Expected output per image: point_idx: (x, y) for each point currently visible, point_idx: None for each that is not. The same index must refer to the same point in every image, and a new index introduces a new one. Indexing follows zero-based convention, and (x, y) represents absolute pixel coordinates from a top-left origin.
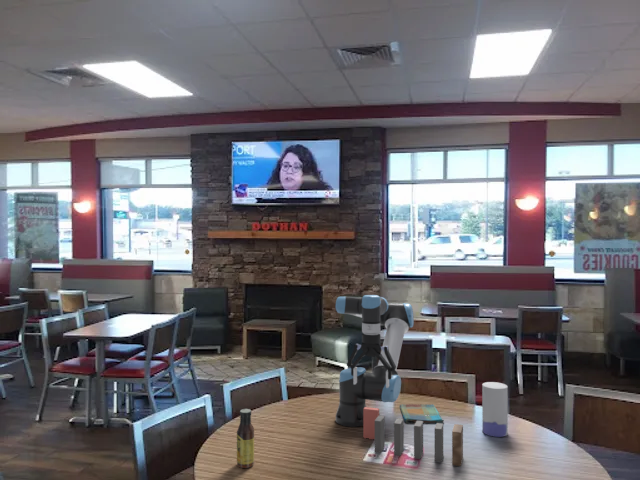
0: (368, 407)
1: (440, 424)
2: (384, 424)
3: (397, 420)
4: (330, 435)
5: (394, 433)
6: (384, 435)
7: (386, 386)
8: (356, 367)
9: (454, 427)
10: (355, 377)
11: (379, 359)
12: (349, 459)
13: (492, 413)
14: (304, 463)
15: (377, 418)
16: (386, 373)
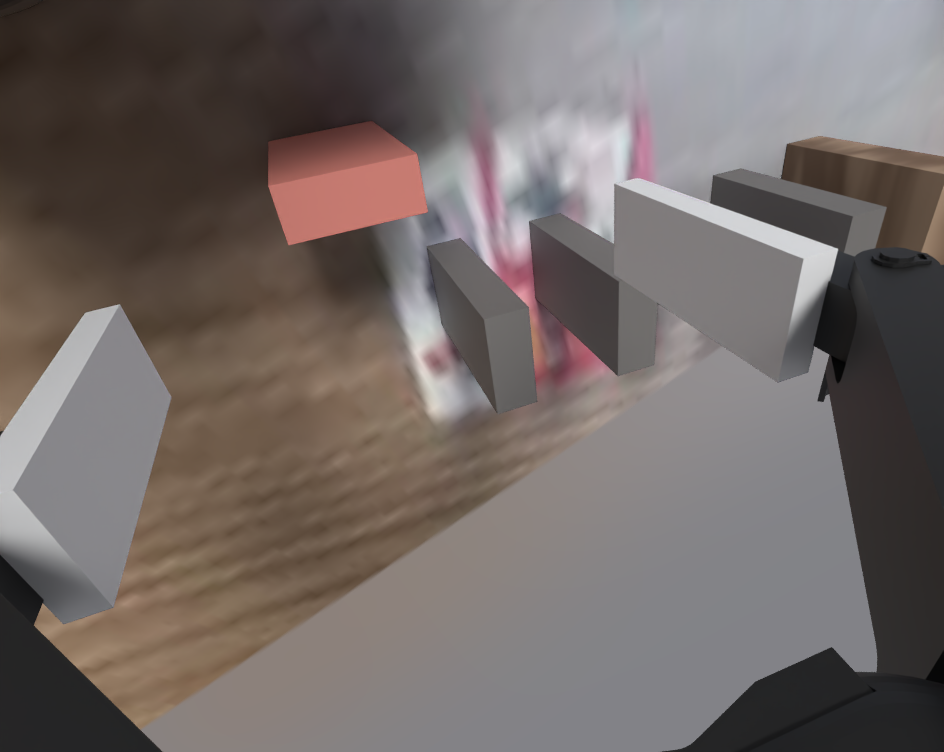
0: (309, 183)
1: (868, 231)
2: (506, 285)
3: (628, 325)
4: (54, 273)
5: (588, 344)
6: (482, 261)
7: (631, 280)
8: (28, 518)
9: (931, 234)
10: (143, 450)
11: (879, 614)
12: (379, 449)
13: None
14: (241, 579)
15: (499, 371)
16: (760, 360)
